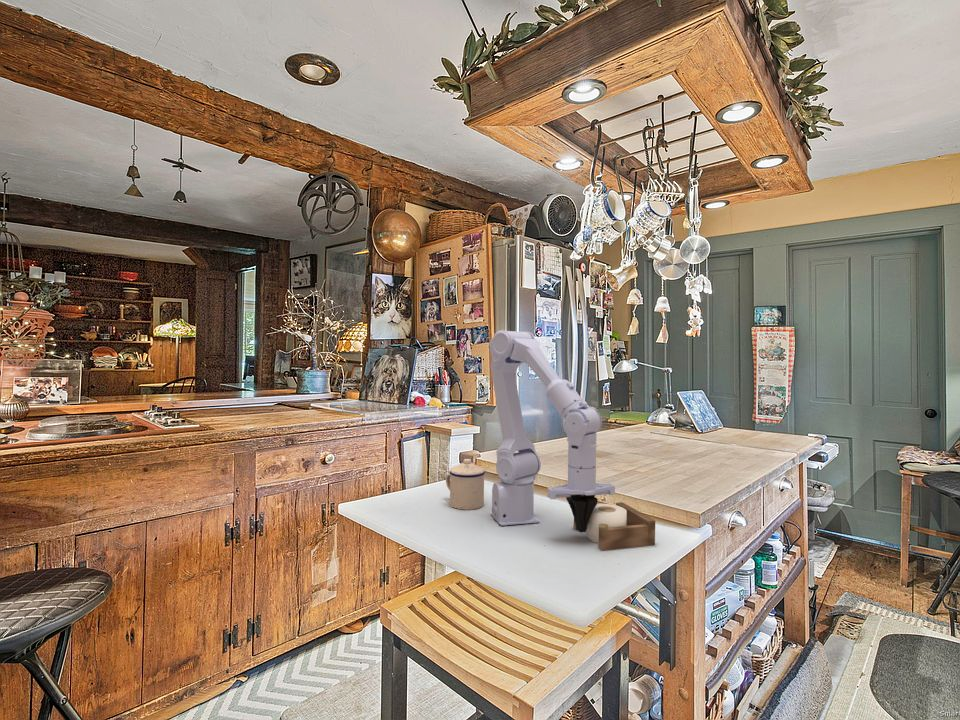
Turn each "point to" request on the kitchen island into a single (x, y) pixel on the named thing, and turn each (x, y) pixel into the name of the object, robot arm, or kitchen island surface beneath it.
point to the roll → (605, 519)
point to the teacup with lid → (466, 486)
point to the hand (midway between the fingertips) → (580, 530)
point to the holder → (627, 531)
